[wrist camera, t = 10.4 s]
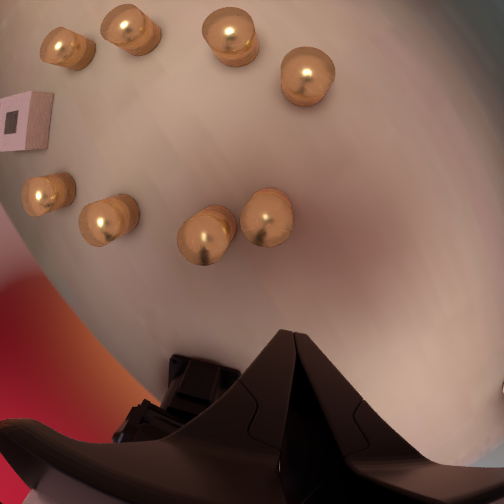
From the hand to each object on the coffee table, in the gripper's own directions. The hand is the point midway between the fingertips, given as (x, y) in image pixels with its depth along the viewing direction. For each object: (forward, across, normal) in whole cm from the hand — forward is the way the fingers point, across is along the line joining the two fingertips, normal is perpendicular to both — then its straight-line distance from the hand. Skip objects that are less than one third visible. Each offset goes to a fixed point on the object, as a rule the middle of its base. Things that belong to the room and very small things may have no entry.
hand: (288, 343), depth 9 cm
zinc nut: (+13, +24, -6) cm, 28 cm away
